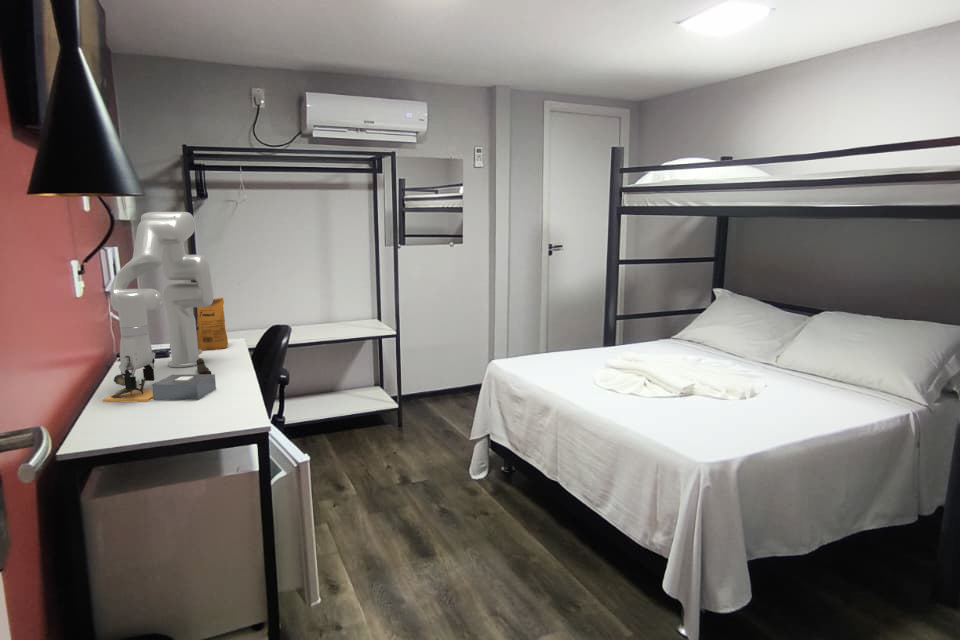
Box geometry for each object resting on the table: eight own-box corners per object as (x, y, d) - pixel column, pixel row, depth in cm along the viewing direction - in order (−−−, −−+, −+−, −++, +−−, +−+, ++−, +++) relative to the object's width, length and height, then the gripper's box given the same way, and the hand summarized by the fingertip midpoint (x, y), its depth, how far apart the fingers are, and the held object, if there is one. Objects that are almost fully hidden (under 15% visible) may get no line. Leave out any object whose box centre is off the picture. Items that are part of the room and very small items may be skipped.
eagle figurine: (145, 385, 191) (113, 383, 187) (146, 370, 187) (113, 368, 183) (142, 403, 186) (108, 402, 182) (142, 388, 182) (108, 386, 178)
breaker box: (174, 389, 194) (172, 374, 193) (216, 389, 193) (214, 374, 193) (153, 400, 182) (151, 384, 181) (198, 400, 182) (196, 384, 181)
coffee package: (197, 347, 259) (193, 297, 256) (228, 344, 264) (224, 296, 260) (196, 351, 250) (191, 300, 247) (228, 349, 255) (224, 298, 251)
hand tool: (212, 380, 205) (210, 367, 204) (199, 382, 203) (198, 369, 202) (208, 369, 221) (207, 357, 220) (196, 370, 219) (195, 358, 219)
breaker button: (182, 388, 189) (181, 376, 189) (194, 388, 189) (193, 376, 189) (175, 392, 186) (174, 379, 185) (188, 392, 185) (187, 379, 185)
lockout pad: (124, 391, 191) (124, 389, 191) (166, 391, 191) (166, 389, 191) (102, 401, 181) (102, 399, 181) (147, 401, 180) (147, 399, 180)
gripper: (139, 326, 191) (144, 377, 194) (104, 337, 174) (111, 392, 177) (161, 326, 191) (167, 377, 194) (129, 337, 174) (136, 392, 177)
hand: (140, 384), depth 185 cm, fingers open, 9 cm apart
